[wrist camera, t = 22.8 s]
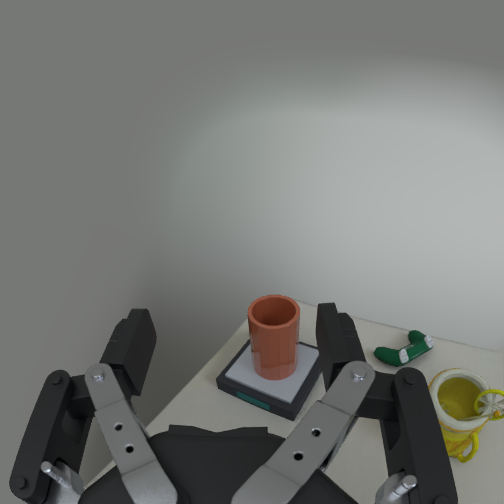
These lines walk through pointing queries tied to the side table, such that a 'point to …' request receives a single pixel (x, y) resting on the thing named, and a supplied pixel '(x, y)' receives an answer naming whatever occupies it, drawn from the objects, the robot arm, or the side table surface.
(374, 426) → the side table surface
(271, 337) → the cup
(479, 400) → the mug
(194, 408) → the side table surface
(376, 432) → the side table surface
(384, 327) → the side table surface
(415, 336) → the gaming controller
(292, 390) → the scale
